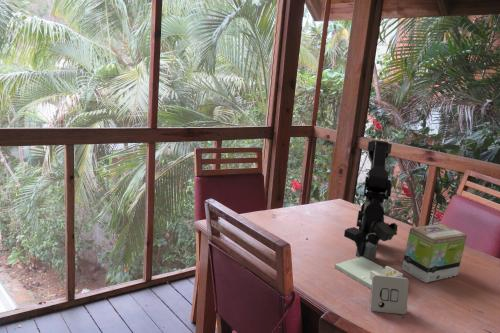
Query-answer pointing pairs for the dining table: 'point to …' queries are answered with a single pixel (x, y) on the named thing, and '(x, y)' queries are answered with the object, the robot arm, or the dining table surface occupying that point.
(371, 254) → the plug
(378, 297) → the electrical switch
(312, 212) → the dining table surface
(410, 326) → the dining table surface
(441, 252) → the tea box
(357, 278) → the board
